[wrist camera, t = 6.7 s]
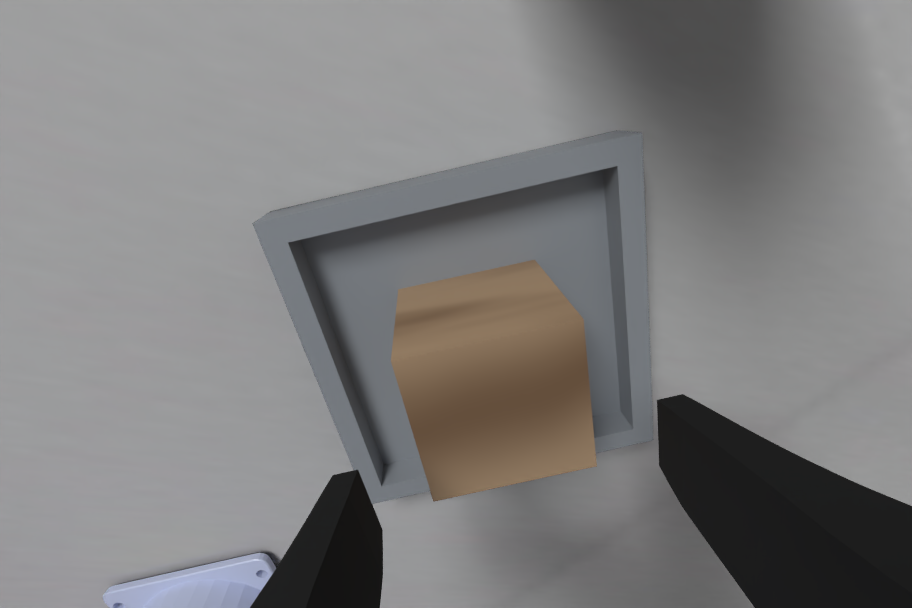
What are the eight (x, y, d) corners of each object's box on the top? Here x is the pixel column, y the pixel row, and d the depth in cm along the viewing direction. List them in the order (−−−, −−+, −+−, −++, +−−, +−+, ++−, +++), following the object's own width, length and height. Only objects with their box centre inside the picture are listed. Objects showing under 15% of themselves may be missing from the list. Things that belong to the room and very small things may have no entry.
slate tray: (633, 412, 20) (653, 440, 18) (372, 472, 20) (368, 505, 18) (616, 130, 15) (642, 132, 13) (270, 211, 15) (252, 223, 13)
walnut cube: (550, 375, 18) (597, 466, 13) (429, 401, 18) (433, 501, 13) (534, 259, 16) (583, 319, 11) (398, 289, 16) (390, 360, 11)
